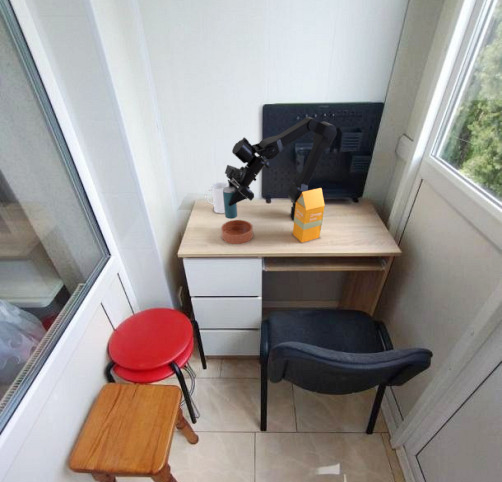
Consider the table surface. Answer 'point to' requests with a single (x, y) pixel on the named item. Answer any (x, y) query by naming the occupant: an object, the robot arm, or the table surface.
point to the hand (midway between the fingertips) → (226, 202)
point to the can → (229, 210)
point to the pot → (237, 231)
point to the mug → (217, 196)
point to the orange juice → (308, 215)
